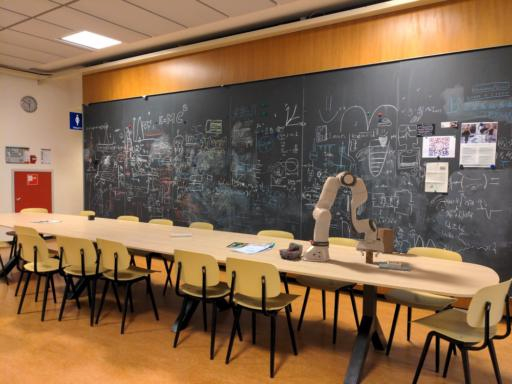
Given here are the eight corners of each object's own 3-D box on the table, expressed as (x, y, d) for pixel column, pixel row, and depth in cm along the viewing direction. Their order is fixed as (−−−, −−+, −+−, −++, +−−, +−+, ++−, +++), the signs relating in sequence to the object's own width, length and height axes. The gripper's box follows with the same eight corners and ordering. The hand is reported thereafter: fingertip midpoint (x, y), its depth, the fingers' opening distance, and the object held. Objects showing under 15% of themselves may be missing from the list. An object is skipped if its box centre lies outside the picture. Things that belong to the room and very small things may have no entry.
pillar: (365, 263, 279) (366, 251, 279) (365, 261, 284) (366, 249, 283) (372, 263, 277) (373, 251, 277) (372, 262, 282) (373, 250, 282)
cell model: (304, 242, 297) (292, 247, 281) (304, 256, 298) (292, 261, 282) (290, 240, 305) (277, 244, 288) (290, 253, 305) (277, 258, 289)
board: (378, 268, 264) (379, 263, 264) (379, 263, 279) (379, 259, 279) (409, 271, 258) (410, 266, 258) (408, 266, 273) (408, 261, 273)
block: (382, 253, 315) (383, 229, 314) (376, 251, 325) (377, 227, 324) (393, 253, 317) (394, 229, 316) (387, 250, 327) (388, 227, 326)
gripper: (356, 237, 290) (354, 252, 281) (384, 239, 284) (384, 254, 275) (356, 242, 294) (355, 257, 286) (384, 244, 288) (383, 259, 279)
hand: (369, 256), depth 280 cm, fingers open, 8 cm apart
